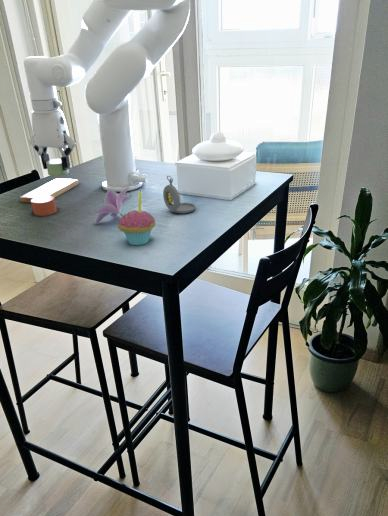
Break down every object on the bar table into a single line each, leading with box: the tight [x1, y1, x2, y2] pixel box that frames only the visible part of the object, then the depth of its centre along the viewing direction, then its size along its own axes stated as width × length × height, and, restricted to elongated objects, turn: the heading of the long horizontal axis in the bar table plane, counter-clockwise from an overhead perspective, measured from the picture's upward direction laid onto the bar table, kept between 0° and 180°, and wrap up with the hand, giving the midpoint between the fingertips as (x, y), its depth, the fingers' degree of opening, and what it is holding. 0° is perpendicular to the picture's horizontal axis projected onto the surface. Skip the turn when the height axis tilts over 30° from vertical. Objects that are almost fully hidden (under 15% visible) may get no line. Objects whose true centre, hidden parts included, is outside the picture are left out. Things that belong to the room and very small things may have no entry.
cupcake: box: [118, 188, 156, 246], centre depth 110 cm, size 9×8×12 cm
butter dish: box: [174, 131, 257, 201], centre depth 141 cm, size 18×18×16 cm
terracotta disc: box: [30, 196, 58, 217], centre depth 133 cm, size 6×6×4 cm
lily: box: [94, 187, 132, 225], centre depth 122 cm, size 12×12×10 cm
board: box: [19, 177, 80, 204], centre depth 148 cm, size 8×20×2 cm, turn 161°
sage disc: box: [46, 158, 70, 177], centre depth 151 cm, size 6×6×4 cm
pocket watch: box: [162, 175, 196, 214], centre depth 127 cm, size 8×8×10 cm
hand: (56, 168), depth 150 cm, fingers closed on sage disc, 6 cm apart
